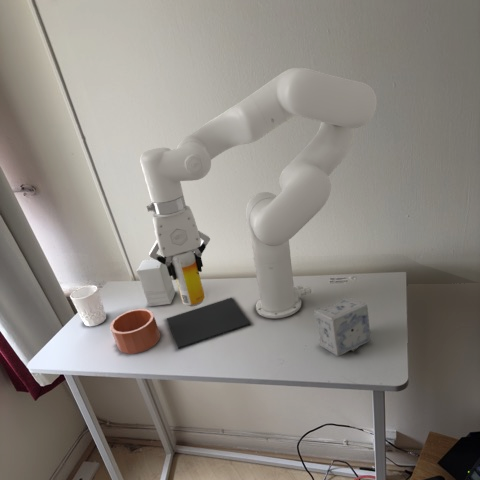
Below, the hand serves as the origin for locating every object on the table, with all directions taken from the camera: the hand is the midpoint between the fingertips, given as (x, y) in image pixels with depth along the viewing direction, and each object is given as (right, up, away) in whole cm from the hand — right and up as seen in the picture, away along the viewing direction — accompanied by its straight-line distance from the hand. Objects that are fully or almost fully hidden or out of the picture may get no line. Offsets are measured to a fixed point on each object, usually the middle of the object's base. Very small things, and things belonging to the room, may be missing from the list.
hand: (186, 273), depth 108 cm
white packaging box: (-11, -6, +25) cm, 27 cm away
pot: (-14, -18, +7) cm, 23 cm away
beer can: (+1, -7, +5) cm, 9 cm away
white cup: (-30, -12, +20) cm, 39 cm away
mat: (+5, -13, +9) cm, 16 cm away
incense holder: (+38, -18, -9) cm, 43 cm away
